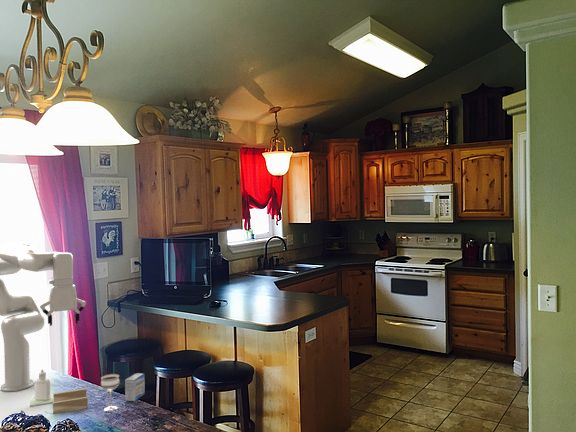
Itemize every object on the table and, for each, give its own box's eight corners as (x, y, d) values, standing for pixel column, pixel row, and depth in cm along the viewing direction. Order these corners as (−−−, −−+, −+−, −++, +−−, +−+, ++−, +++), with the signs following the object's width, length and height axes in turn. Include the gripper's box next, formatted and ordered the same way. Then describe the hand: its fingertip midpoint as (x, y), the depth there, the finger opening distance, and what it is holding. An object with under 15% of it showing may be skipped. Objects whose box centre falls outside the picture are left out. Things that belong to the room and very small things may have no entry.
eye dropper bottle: (40, 402, 188) (40, 372, 188) (33, 399, 191) (33, 369, 191) (51, 399, 191) (51, 369, 191) (44, 396, 194) (44, 367, 195)
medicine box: (135, 401, 188) (134, 379, 188) (125, 401, 189) (124, 379, 189) (145, 394, 196) (144, 373, 196) (135, 393, 197) (134, 372, 197)
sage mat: (31, 399, 193) (31, 397, 193) (55, 395, 197) (55, 393, 197) (29, 406, 185) (29, 405, 185) (55, 402, 189) (55, 401, 189)
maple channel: (53, 403, 188) (53, 393, 188) (86, 398, 193) (86, 388, 193) (53, 414, 178) (52, 403, 178) (87, 408, 183) (87, 397, 183)
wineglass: (123, 406, 183) (123, 375, 183) (108, 413, 177) (108, 381, 177) (112, 403, 187) (111, 373, 187) (97, 409, 181) (96, 378, 181)
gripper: (39, 285, 189) (39, 328, 189) (86, 282, 196) (86, 323, 196) (40, 283, 196) (41, 324, 196) (85, 280, 203) (86, 320, 203)
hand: (63, 323), depth 196 cm, fingers open, 9 cm apart
